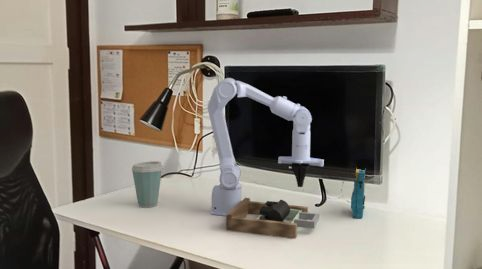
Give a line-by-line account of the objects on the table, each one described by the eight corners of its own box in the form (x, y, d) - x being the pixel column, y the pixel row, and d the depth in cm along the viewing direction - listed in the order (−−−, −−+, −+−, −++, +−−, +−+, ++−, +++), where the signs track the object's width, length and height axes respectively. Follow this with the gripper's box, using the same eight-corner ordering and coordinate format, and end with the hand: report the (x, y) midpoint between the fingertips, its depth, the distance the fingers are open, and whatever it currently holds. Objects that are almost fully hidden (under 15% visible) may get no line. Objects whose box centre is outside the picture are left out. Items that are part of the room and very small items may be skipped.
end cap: (282, 231, 151) (282, 209, 149) (259, 229, 153) (259, 207, 152) (289, 221, 160) (290, 200, 159) (268, 218, 162) (268, 198, 161)
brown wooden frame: (226, 230, 151) (226, 214, 150) (245, 212, 168) (245, 197, 167) (295, 238, 145) (295, 221, 144) (307, 218, 161) (308, 203, 161)
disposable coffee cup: (127, 208, 172) (126, 165, 169) (139, 199, 182) (137, 158, 180) (158, 210, 170) (156, 166, 168) (167, 201, 181) (166, 159, 178)
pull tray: (254, 230, 150) (254, 219, 150) (267, 215, 164) (267, 205, 163) (312, 237, 145) (312, 225, 144) (320, 221, 158) (320, 210, 158)
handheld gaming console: (363, 219, 161) (365, 173, 159) (350, 218, 162) (351, 172, 160) (364, 210, 170) (366, 166, 168) (352, 209, 171) (353, 165, 169)
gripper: (276, 145, 161) (275, 187, 163) (321, 148, 156) (320, 191, 159) (281, 142, 168) (280, 182, 170) (325, 144, 163) (324, 185, 165)
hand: (300, 186), depth 165 cm, fingers closed
